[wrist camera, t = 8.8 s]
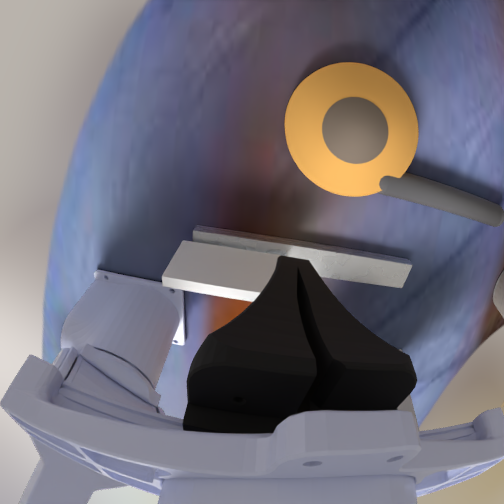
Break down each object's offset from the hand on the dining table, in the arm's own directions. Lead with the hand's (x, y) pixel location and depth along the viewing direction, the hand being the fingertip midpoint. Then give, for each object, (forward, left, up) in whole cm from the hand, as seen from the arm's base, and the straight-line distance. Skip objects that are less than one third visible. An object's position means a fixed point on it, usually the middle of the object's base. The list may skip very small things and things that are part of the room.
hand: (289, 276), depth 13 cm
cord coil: (+4, +6, -10) cm, 12 cm away
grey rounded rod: (+13, +3, -10) cm, 16 cm away
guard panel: (-3, -5, -9) cm, 10 cm away
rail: (+2, -4, -10) cm, 11 cm away
